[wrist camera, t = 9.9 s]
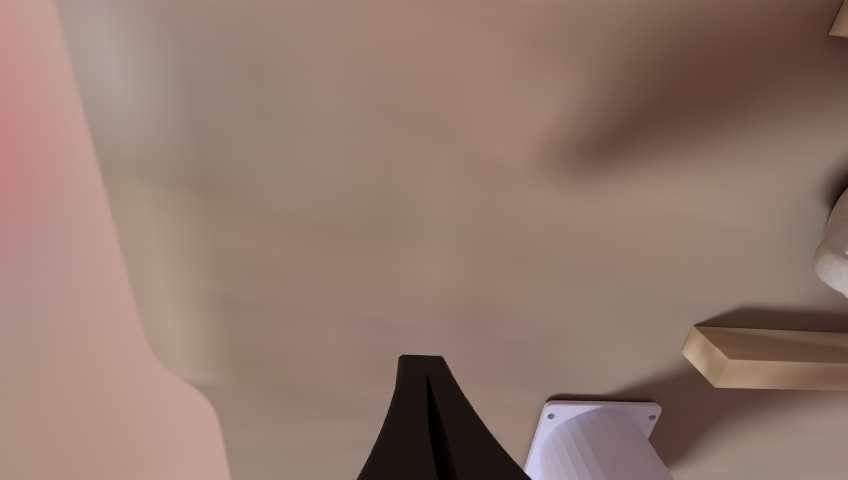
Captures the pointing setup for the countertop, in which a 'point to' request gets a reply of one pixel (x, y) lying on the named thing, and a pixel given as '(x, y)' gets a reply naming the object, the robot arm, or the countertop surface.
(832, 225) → the teacup
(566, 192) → the countertop surface
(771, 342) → the wooden bay
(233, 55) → the countertop surface
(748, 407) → the countertop surface
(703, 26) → the countertop surface
